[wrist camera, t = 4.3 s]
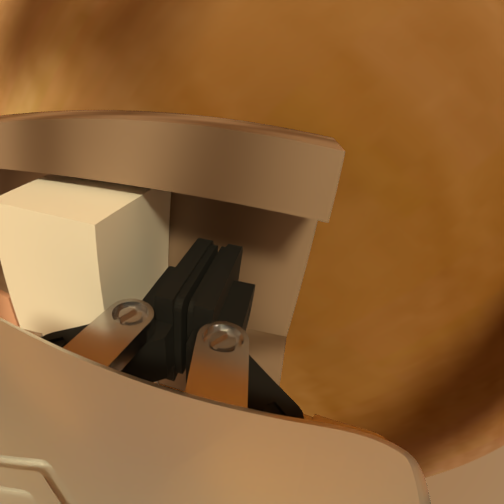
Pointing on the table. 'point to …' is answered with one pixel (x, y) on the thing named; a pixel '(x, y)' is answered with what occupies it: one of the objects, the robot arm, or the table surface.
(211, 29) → the table surface
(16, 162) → the walnut chute
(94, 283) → the cream block
